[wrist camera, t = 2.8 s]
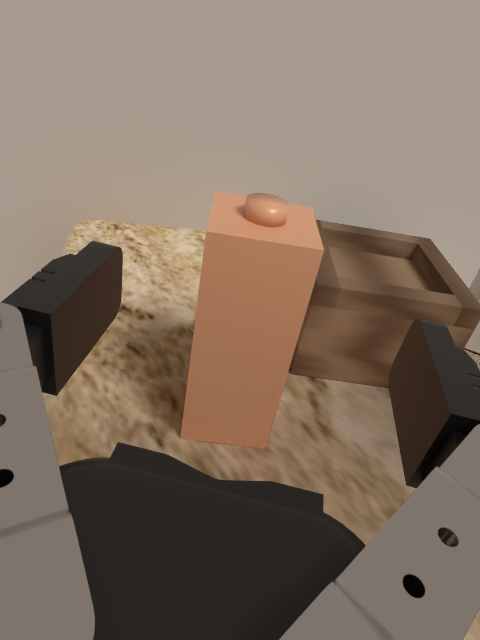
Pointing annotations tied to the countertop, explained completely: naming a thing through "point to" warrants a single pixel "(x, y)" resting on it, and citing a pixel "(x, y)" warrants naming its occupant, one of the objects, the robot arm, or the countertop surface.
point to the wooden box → (376, 303)
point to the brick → (248, 315)
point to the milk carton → (476, 342)
